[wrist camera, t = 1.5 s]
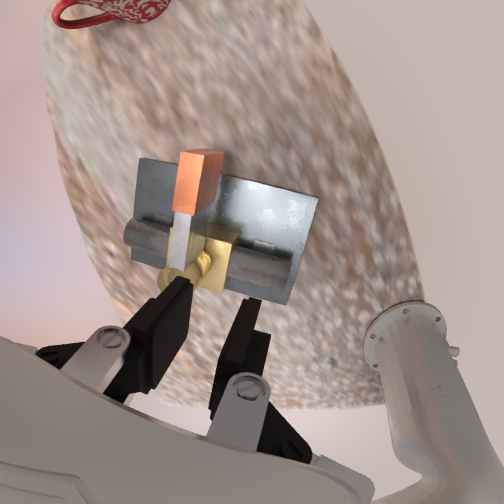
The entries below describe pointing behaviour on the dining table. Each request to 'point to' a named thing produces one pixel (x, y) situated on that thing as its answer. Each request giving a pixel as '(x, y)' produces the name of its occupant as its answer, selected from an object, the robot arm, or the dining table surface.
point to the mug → (111, 11)
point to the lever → (192, 216)
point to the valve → (227, 231)
